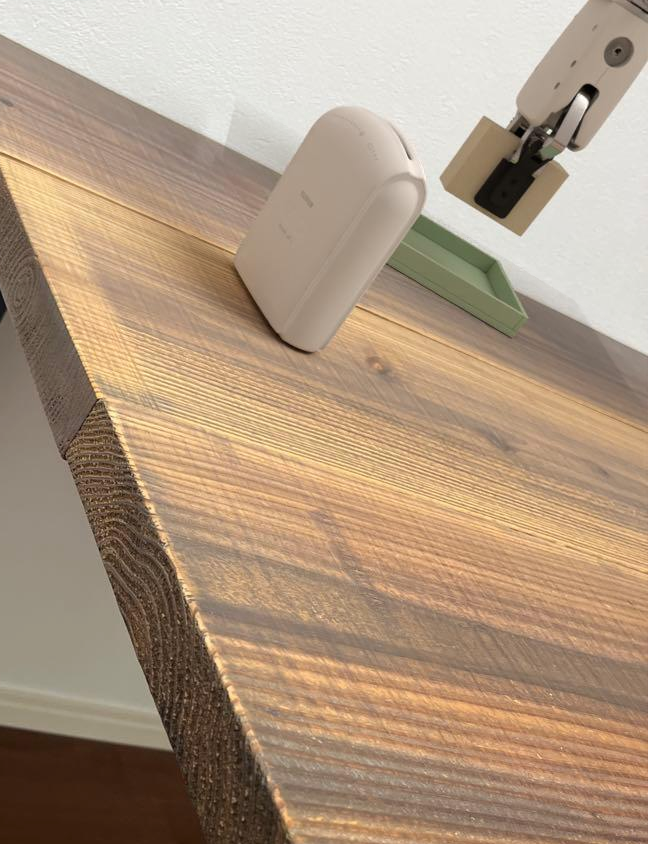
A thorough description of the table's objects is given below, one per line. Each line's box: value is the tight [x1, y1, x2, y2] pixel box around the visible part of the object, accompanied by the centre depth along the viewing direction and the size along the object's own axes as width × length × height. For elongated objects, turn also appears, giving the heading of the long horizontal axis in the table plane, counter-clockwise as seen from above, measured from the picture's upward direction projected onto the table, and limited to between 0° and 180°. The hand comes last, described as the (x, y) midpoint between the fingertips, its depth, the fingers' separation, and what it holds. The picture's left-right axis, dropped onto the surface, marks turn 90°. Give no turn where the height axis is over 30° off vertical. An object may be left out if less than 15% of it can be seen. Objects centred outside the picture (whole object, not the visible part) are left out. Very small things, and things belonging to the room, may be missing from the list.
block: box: [439, 115, 570, 237], centre depth 89 cm, size 4×8×6 cm, turn 80°
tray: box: [385, 212, 530, 339], centre depth 93 cm, size 14×15×2 cm
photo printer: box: [233, 105, 428, 353], centre depth 61 cm, size 10×4×12 cm, turn 13°
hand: (484, 200), depth 90 cm, fingers closed on block, 4 cm apart
